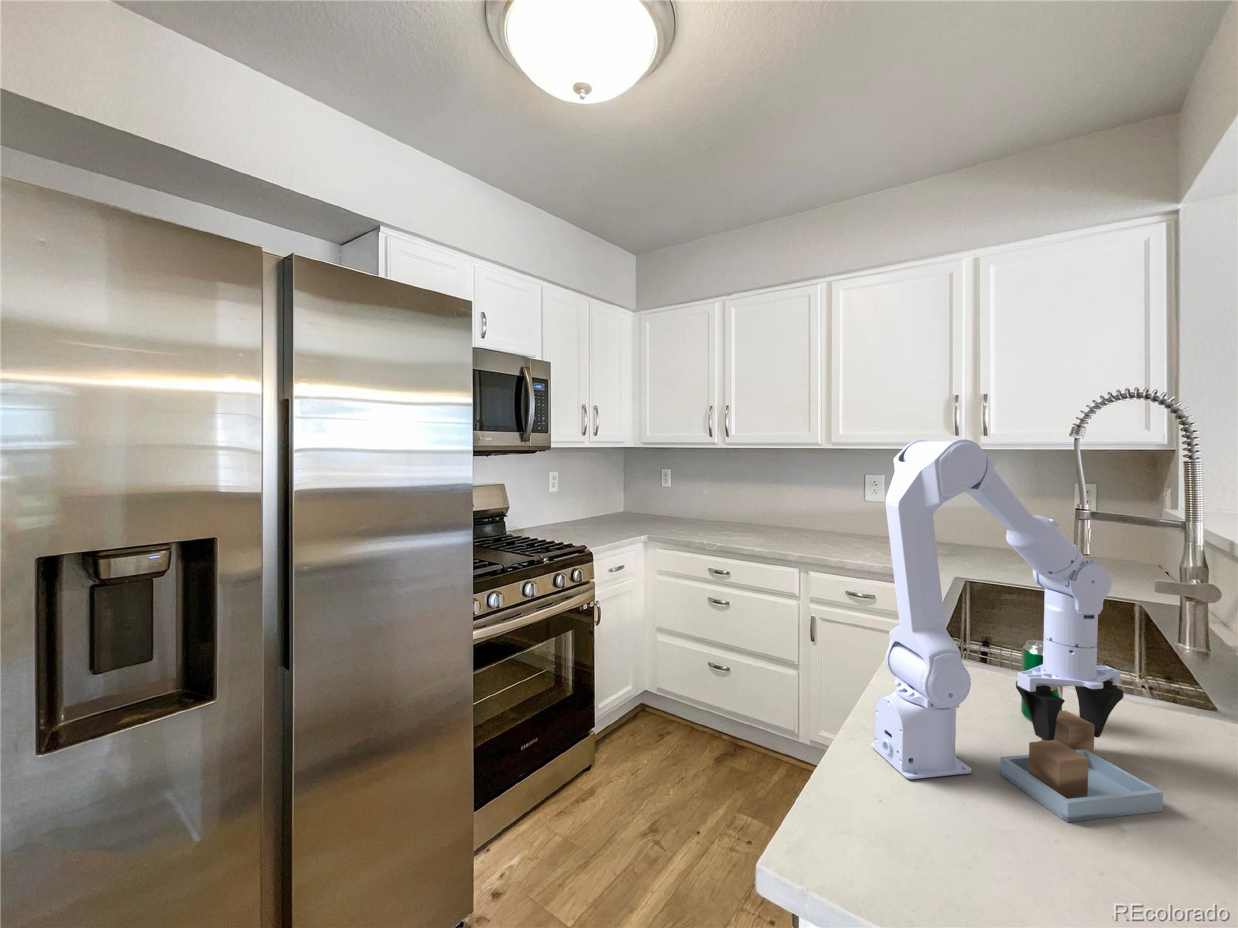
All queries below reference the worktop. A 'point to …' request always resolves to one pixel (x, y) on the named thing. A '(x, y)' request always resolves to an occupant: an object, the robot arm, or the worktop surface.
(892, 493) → the robot arm
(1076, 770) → the walnut block
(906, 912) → the worktop surface
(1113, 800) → the tray
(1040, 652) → the soda can
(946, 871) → the worktop surface
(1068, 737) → the walnut block
